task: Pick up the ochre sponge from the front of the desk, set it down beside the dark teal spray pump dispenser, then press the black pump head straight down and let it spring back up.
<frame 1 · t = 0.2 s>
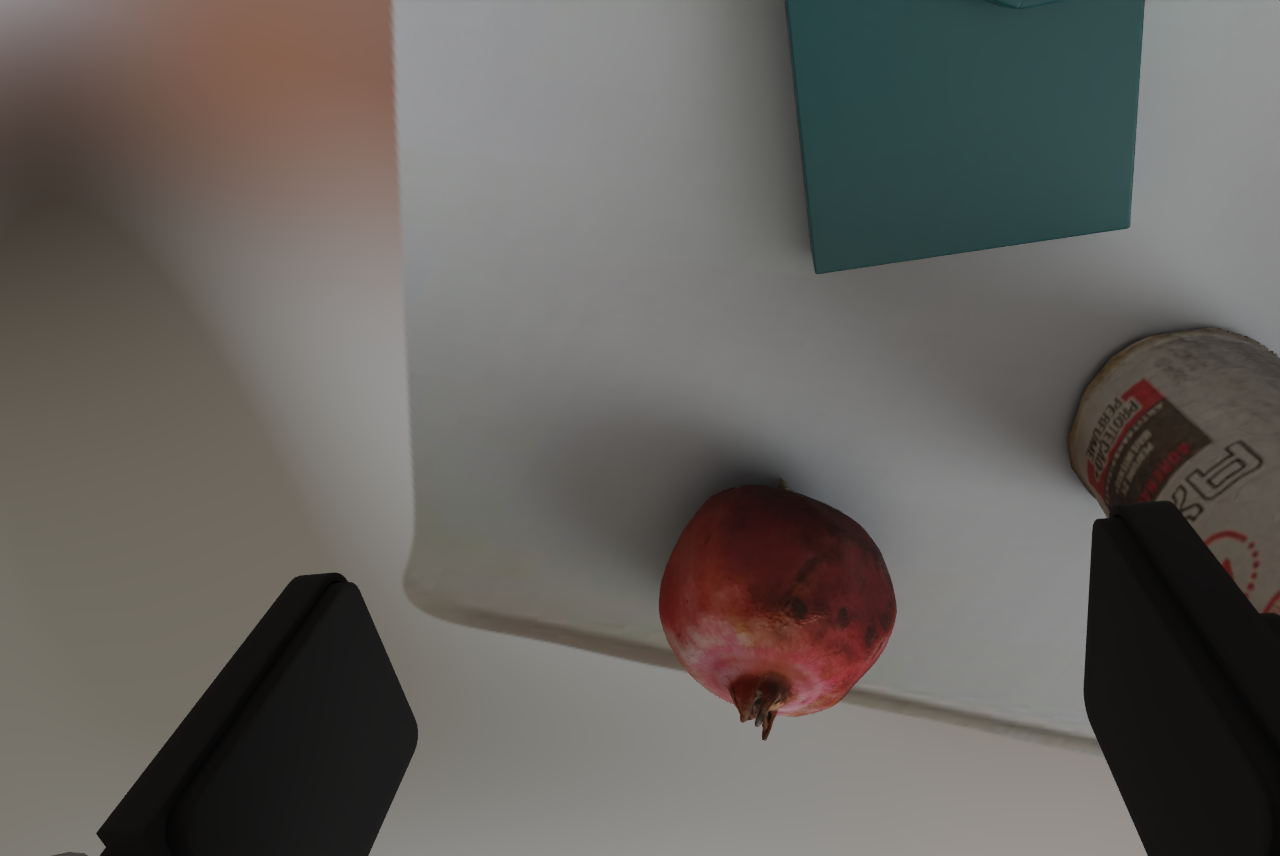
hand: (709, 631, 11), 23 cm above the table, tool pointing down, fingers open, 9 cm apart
fruit: (772, 537, 37), on the table
spray can: (1177, 416, 32), on the table
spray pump: (948, 37, 27), on the table
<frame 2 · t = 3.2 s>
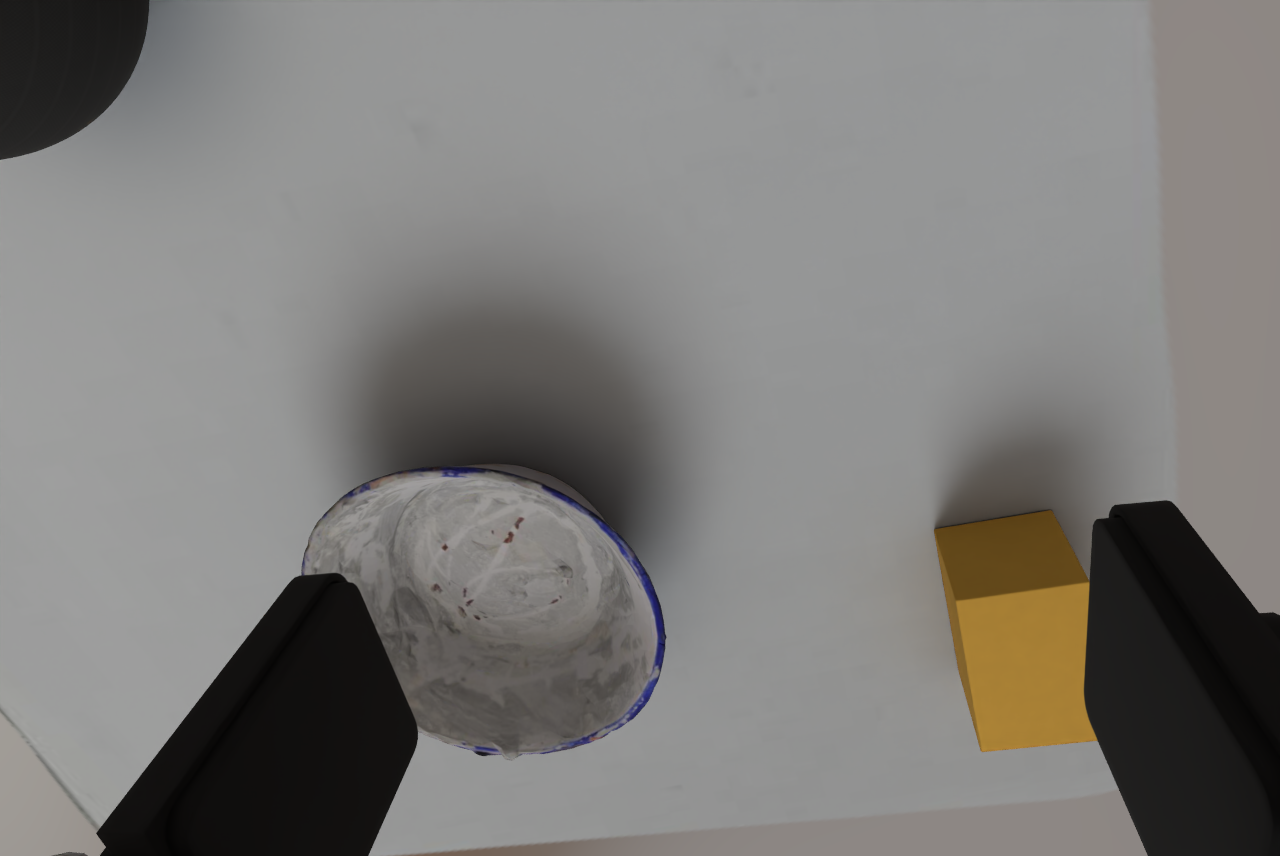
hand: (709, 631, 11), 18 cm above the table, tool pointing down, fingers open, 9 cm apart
sponge: (1002, 595, 32), on the table
bowl: (516, 547, 34), on the table
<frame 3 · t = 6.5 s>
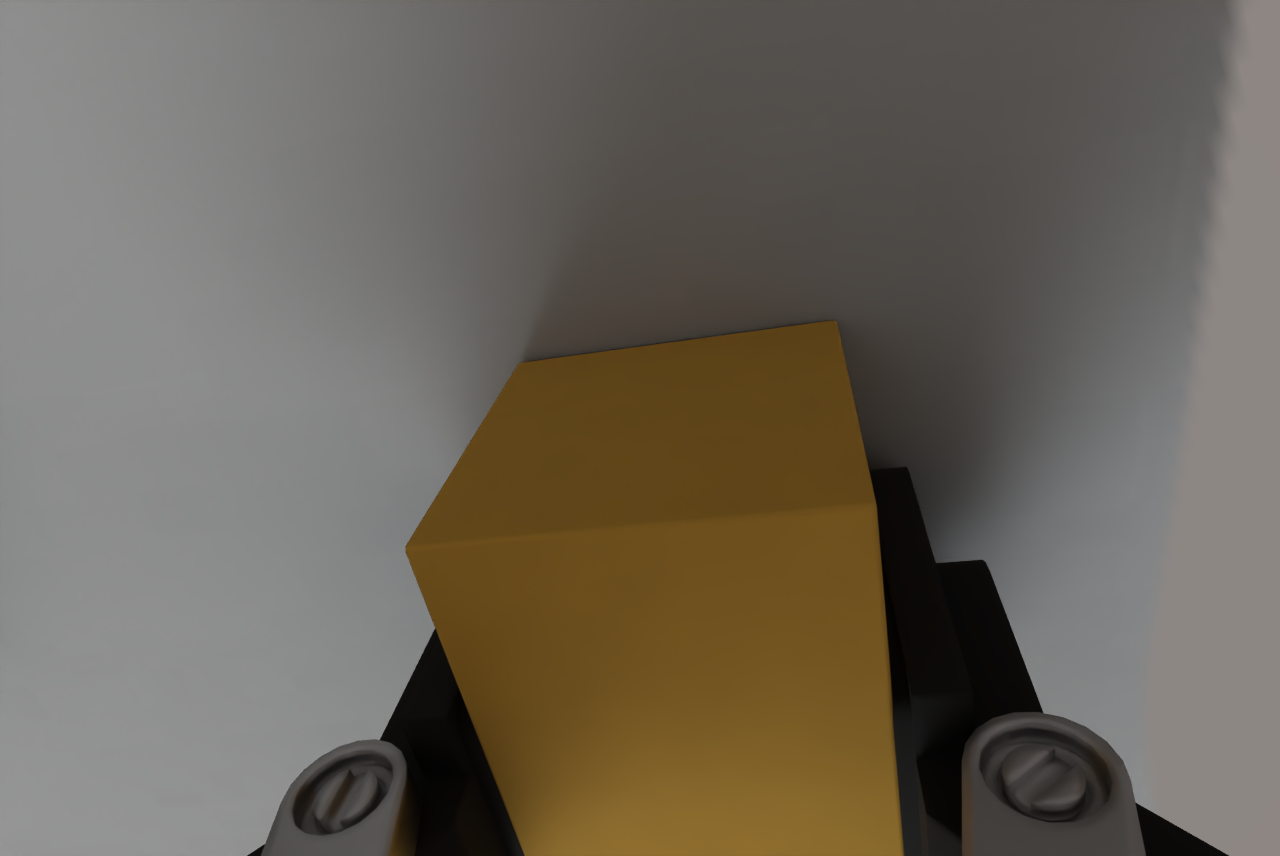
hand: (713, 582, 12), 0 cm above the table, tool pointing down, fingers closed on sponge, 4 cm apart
sponge: (714, 568, 12), on the table, touching gripper
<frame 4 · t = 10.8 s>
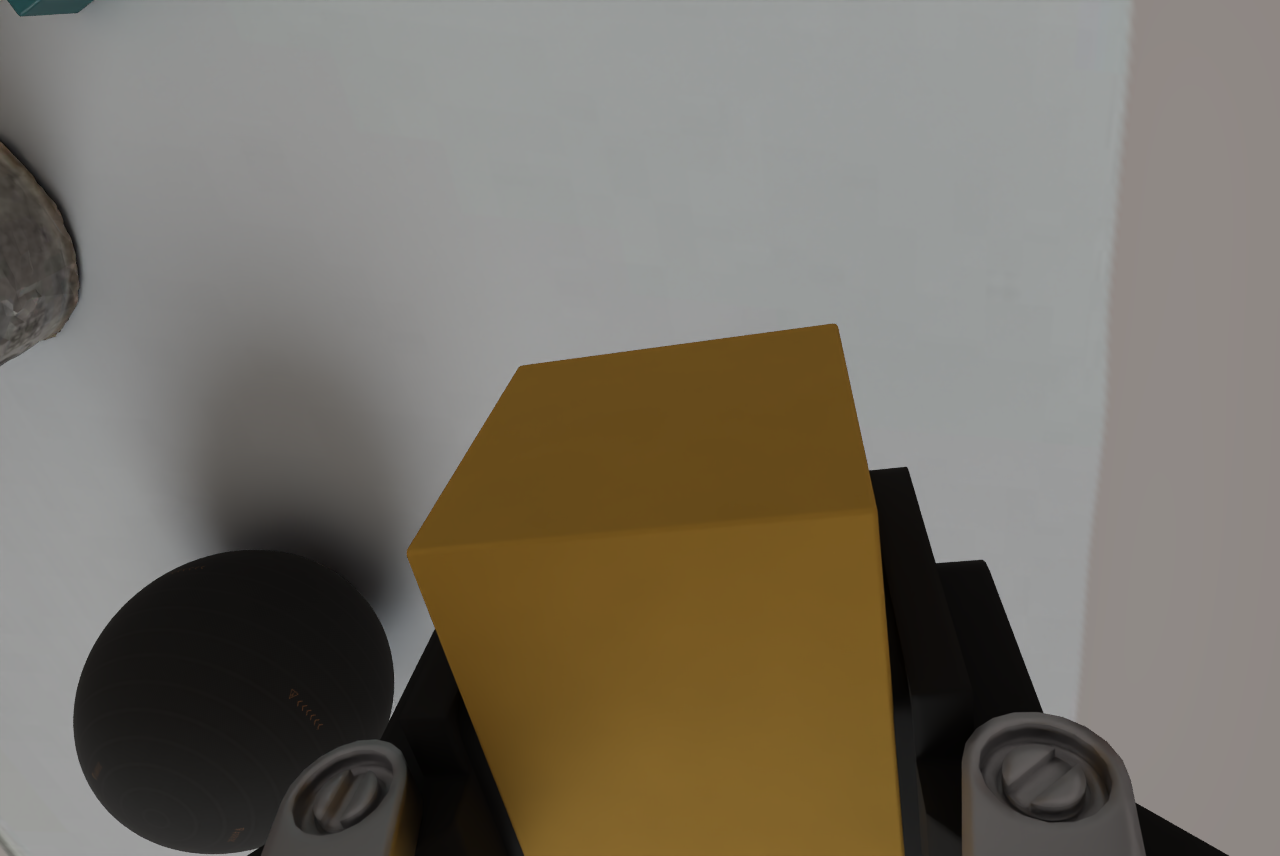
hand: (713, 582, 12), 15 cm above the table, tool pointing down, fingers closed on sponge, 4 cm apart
sponge: (715, 570, 12), point 15 cm above the table, touching gripper
speaker: (314, 597, 34), on the table
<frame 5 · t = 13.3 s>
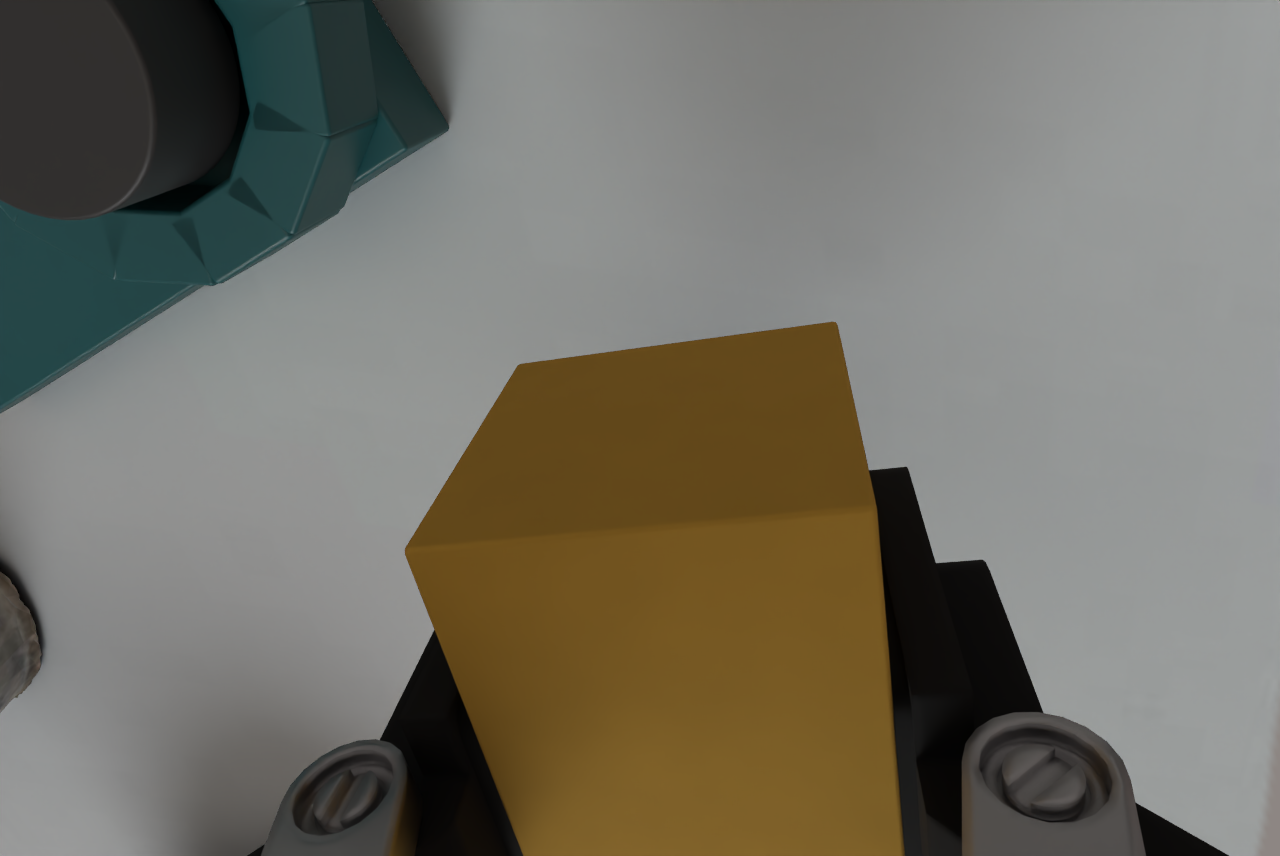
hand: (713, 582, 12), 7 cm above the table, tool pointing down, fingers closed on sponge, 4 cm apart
sponge: (714, 569, 12), point 6 cm above the table, touching gripper
pump head: (75, 71, 12), point 5 cm above the table, slide at 0.1 cm
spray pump: (38, 57, 16), on the table
when the fingers open (0 cm above the table, at t = 15.2 s): sponge stays where it is, on the table.
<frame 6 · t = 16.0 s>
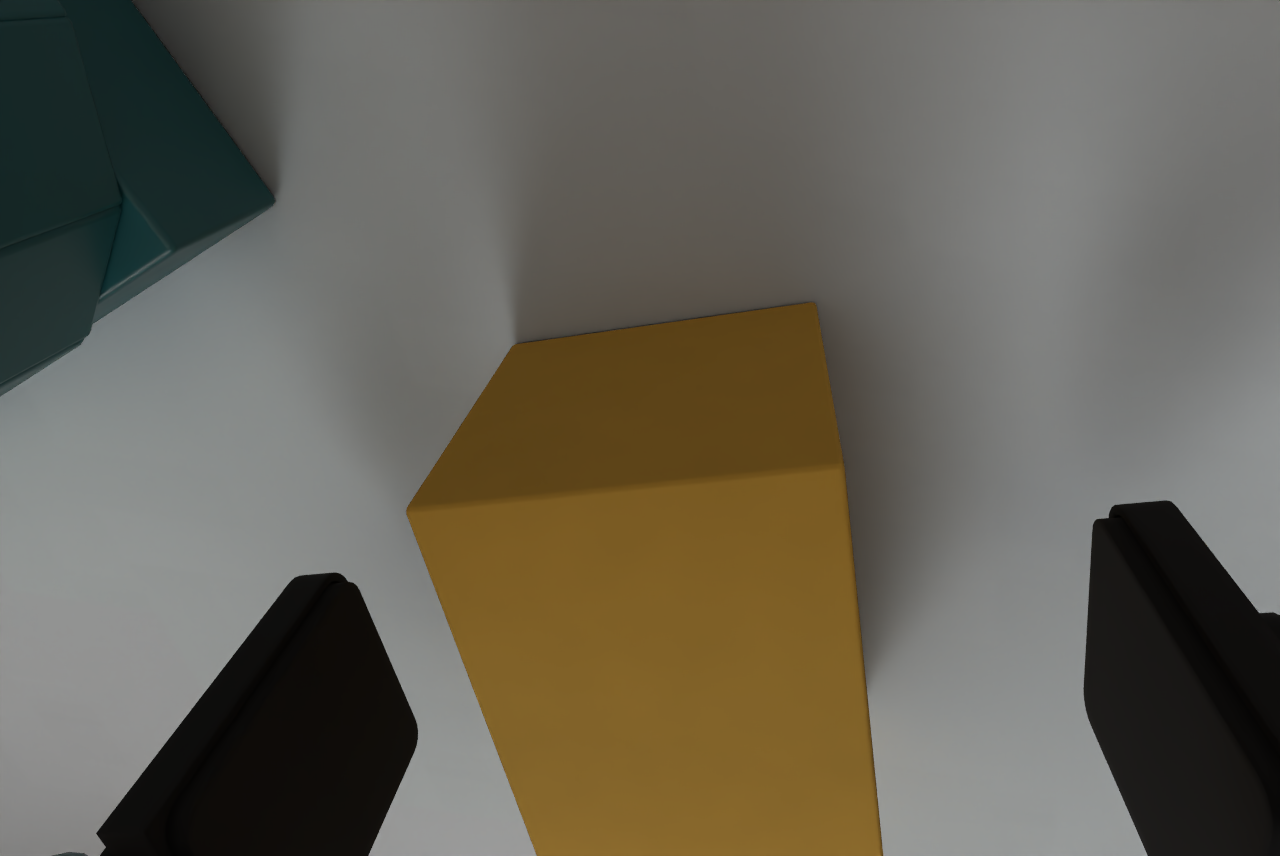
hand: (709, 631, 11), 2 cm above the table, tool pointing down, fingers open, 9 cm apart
sponge: (701, 543, 12), on the table
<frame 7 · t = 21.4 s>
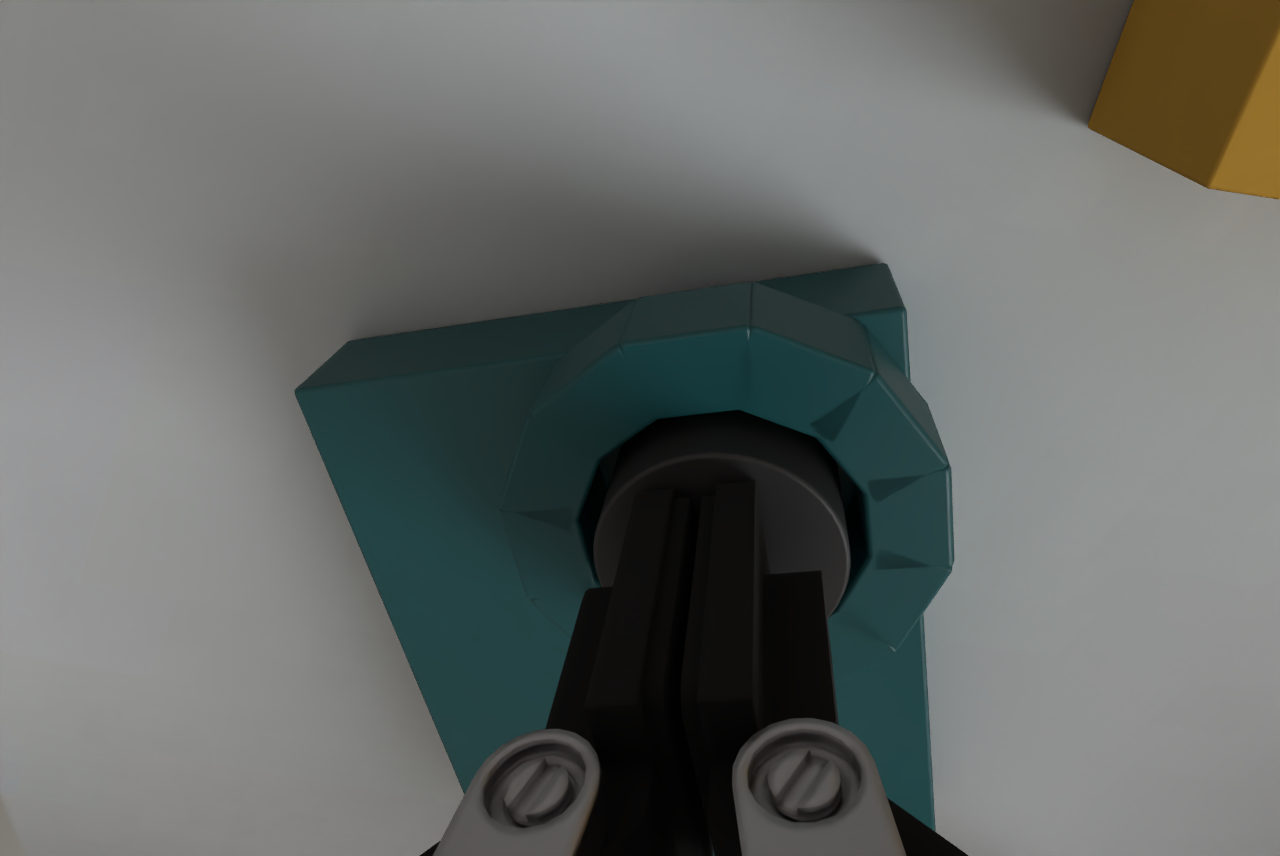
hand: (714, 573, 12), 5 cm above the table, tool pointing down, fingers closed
pump head: (722, 523, 13), point 4 cm above the table, slide at -0.9 cm, touching gripper
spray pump: (664, 588, 18), on the table
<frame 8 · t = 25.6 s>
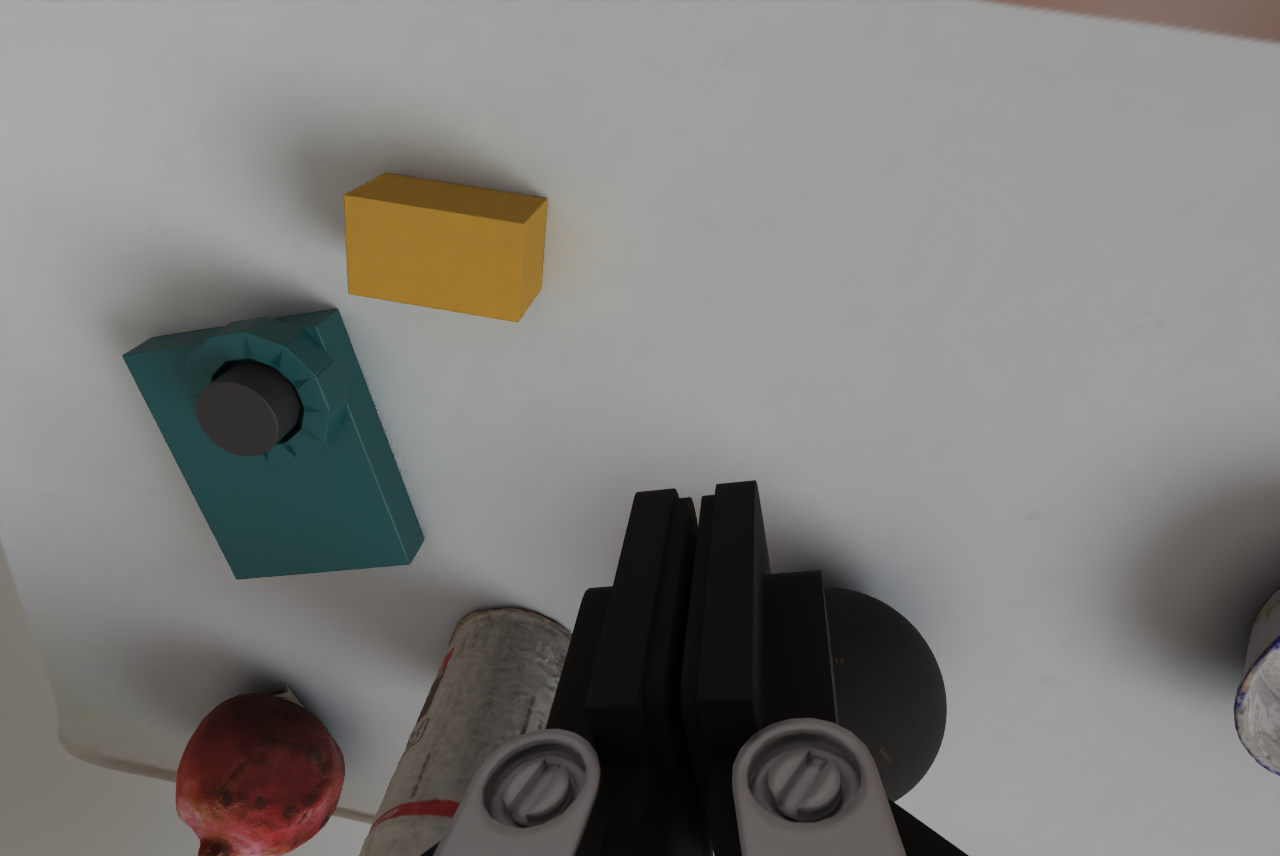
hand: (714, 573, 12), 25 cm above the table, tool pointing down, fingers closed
sponge: (464, 232, 36), on the table
pump head: (249, 409, 36), point 5 cm above the table, slide at 0.1 cm
fruit: (295, 718, 53), on the table
speaker: (825, 621, 44), on the table
spray can: (521, 655, 48), on the table
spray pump: (294, 442, 43), on the table
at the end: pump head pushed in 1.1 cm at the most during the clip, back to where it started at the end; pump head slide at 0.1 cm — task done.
